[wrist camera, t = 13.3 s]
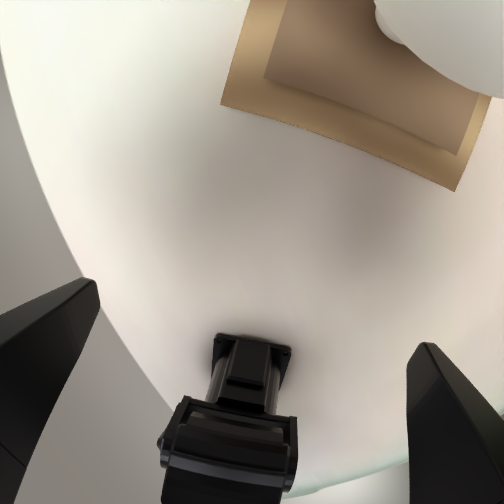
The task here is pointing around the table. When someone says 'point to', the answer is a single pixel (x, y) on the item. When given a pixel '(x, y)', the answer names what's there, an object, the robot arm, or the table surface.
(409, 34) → the lightbulb
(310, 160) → the table surface
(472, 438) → the robot arm
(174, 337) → the table surface
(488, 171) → the table surface
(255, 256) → the table surface
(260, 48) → the plinth
